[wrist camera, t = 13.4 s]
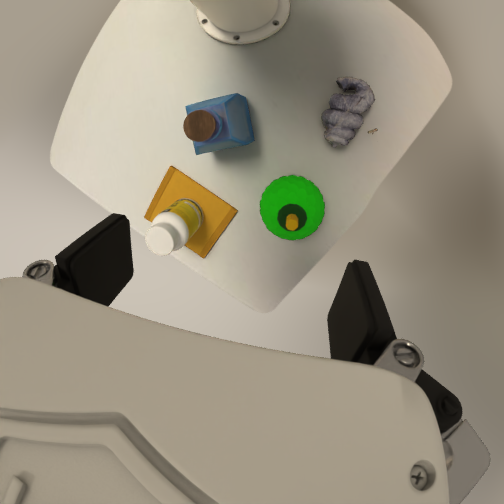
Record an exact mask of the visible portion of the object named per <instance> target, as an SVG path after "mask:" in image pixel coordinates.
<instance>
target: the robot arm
mask: <svg viewBox="0 0 504 504" xmlns="http://www.w3.org/2000/svg"><path fill="white" fill-rule="evenodd" d="M190 1H191V2H192V3H193V4H194V5H195V6H196V7H197V19H198V22H199V24H200V26H201V27H202V28H203V30H204V31H205V32H206V33H208V34H209V35H210V36H212V37H213V38H215V39H217V40H219V41H222V42H225V43H230V44H249V43H254V42H258V41H261V40H263V39H266V38H268V37H270V36H271V35H273V34H275V33H276V32H277V31H278V30H280V28H281V27H282V26H283V25H284V24H285V22H286V20H287V18H288V16H289V12H290V2H289V0H190ZM206 22H207V23H206ZM205 23H206V24H205ZM274 24H278V25H277V26H275V25H274ZM237 38H240V39H239V40H236V39H237ZM55 259H56V263H57V265H55V266H54V264H53V263H52V262H51V261H48V260H39V261H36V262H34V263H32V264H30V265H29V266H27V268H26V269H25V270H24V272H23V276H22V277H9V278H3V279H0V504H460V503H461V502H462V501H463V500H464V498H465V497H466V496H467V495H468V494H469V492H470V491H471V490H472V489H473V488H474V486H475V485H476V484H477V482H478V481H479V480H480V478H481V477H482V476H483V475H484V473H485V472H486V470H487V469H488V467H489V465H490V453H489V451H488V449H487V447H486V446H485V445H484V443H483V442H482V440H481V439H480V438H479V436H478V435H477V433H476V432H475V430H474V429H473V428H472V426H471V425H470V424H469V422H468V421H467V420H466V419H465V420H464V421H462V419H461V416H462V407H461V403H460V402H459V400H458V398H457V397H456V396H455V395H454V394H452V393H451V392H450V391H449V390H447V389H446V388H445V387H444V386H442V385H441V384H440V383H439V382H437V381H436V380H435V379H433V378H432V377H431V376H430V375H428V374H427V373H426V372H425V371H423V370H422V367H423V364H424V356H423V354H422V352H421V350H420V349H419V348H418V347H417V346H416V345H415V344H414V343H412V342H410V341H408V340H405V339H397V338H396V335H395V332H394V329H393V326H392V323H391V320H390V317H389V314H388V312H387V309H386V306H385V303H384V301H383V298H382V296H381V293H380V291H379V288H378V285H377V283H376V280H375V278H374V276H373V273H372V271H371V268H370V266H369V264H368V262H364V261H359V260H354V261H353V262H352V263H351V262H349V263H348V265H347V267H346V270H345V273H344V275H343V278H342V281H341V284H340V286H339V288H338V291H337V294H336V296H335V298H334V301H333V304H332V306H331V308H330V311H329V314H328V319H327V321H328V331H329V342H330V353H331V359H329V358H323V357H315V356H309V355H301V354H296V353H290V352H284V351H278V350H272V349H266V348H262V347H256V346H251V345H247V344H242V343H237V342H232V341H228V340H223V339H219V338H215V337H211V336H206V335H202V334H198V333H194V332H190V331H186V330H183V329H179V328H175V327H172V326H168V325H165V324H161V323H158V322H154V321H151V320H147V319H144V318H141V317H138V316H135V315H131V314H128V313H125V312H122V311H119V310H116V309H113V308H110V307H108V306H109V305H110V304H111V303H112V301H113V300H114V299H115V298H116V296H117V295H118V294H119V293H120V292H121V290H122V289H123V288H124V287H125V286H126V284H127V283H128V282H129V281H130V280H131V278H132V276H133V261H132V250H131V238H130V223H129V220H128V219H127V218H126V216H125V215H121V214H115V213H113V214H111V215H110V216H108V217H107V218H105V219H104V220H103V221H101V222H100V223H98V224H97V225H96V226H94V227H93V228H91V229H90V230H89V231H87V232H86V233H85V234H83V235H82V236H81V237H79V238H78V239H77V240H75V241H74V242H73V243H71V244H70V245H69V246H68V247H66V248H65V249H64V250H63V251H61V252H60V253H59V254H58V255H56V256H55Z"/></svg>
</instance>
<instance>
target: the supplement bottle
mask: <svg viewBox="0 0 504 504" xmlns="http://www.w3.org/2000/svg"><path fill="white" fill-rule="evenodd" d="M202 222H203V211H202V209H201V207H200V205H199V204H198V203H197V202H195V201H194V200H192V199H189V198H182V199H179V200H177V201H175V202H174V203H173V204H172V205H170V206H169V207H168V208H166V209H165V210H164V211H162V212H161V213H160V214H158V215H157V216H156V217H155V218H154V220H153V221H152V224H151V228H150V229H149V230H148V231H147V233H146V237H145V239H146V244H147V246H148V248H149V249H150V250H151V251H152V252H153V253H155V254H157V255H160V256H165V255H168V254H170V253H171V252H172V251H176V250H179V249H180V248H182V247H183V246H184V245H185V244H186V243H187V241H188V240H189V239H190V238H191V237H192V235H193V234H194V233H195V232H196V231H197V230H198V228H199V227H200V226H201V224H202Z"/></svg>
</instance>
